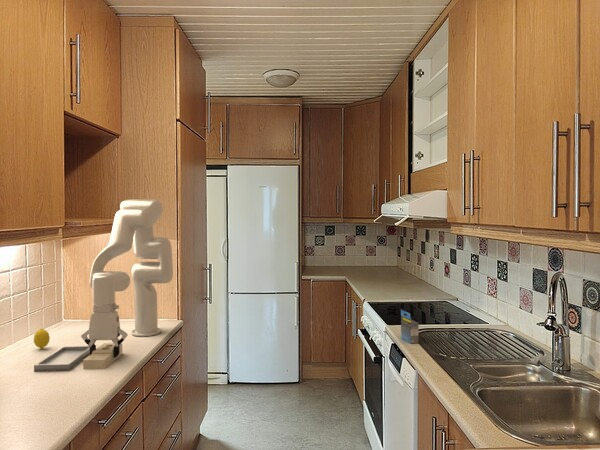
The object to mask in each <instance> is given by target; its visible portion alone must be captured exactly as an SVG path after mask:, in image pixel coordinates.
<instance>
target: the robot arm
mask: <svg viewBox="0 0 600 450" xmlns="http://www.w3.org/2000/svg"><path fill="white" fill-rule="evenodd" d="M119 208H120V209H119V210H118V211H116V213H115V216H114V217H113V218H114V219H113V223H112V227H111V228H112V229H111V234H110V238H109V242H108V245H107V246H105V247H104V248H103V249H102V250H101V251H100V252H99V254H98V255H97V256H96V257H95V258H94V260H93V261H92V262H93V263H92V264H91V270H90V275H89V286H90V288H91V290H92V312H91V313H90V318H89V323H88V324H89V326H88V329H87V330H86V331H84V333H82V334H81V335H80V337H81V339H82V340H83V341H84V343H85V344H87V346H89V347H90V355H91V354H92V352H93V351H94V350H95V349H97V344H96V342H97V341H112V343H114V345H115V346H114V358H116V357H117V356H118V355H119V353H120V346H119V345H120V344H121V343H122V344H123V342H124V341H125V340H126V339H127V337H128V333H127V332H126V331H124V330H123V329H121V323H120V316H119V311H118V310H117V309H119V308H120V305H119V304H116V293H117V292H118V293H119V292H124V291H126V290H127V289H128V288H129V286H130V284H131V278H132V281H133V290H134V292H133V293H134V329H132V331H131V335H132V336H135V337H151V336H156V335H160V334H161V333H162V328H160V327H158V322H159V321H158V291H157V289H156V288H155V286H154V285H153V284H168V283H170V282H171V281H172V280H173V277H174V265H173V249H172V243H171V240H170V239H168V238H167V237H163V236H161V237H160V236H158V237H156V236H155V235H154V225H155V224H156V223H157V222H158V221H159V220H160V218H161V216H162V215H163V204H162V202H161V201H160V200H158V199H153V198H151V199H150V198H149V199H148V198H147V199H146V198H145V199H144V198H141V199H140V198H135V199H134V198H133V199H125V200H123V201H121V203H120V205H119ZM132 248H133V252H134V256H135V257H136V258H137V259H140V260H141V259H142V260H158V261H138V262H136V263H134V264H133V266H132V268H131V277H130V275H129V274H128V272H127V273H126V272H125V271H121V270H120V271H119V270H118V271H115V270H114V271H113V270H110V271H109V270H107V271H106V270H105V271H104V269H105V267H106V265H107V264H108V263H109V262H110V261H112V260H113V259H114V258H117V257H119V256H121V255H123V254H126V253H128V252H130V251H131V250H132ZM120 336H121V338H119V337H120ZM90 355H89V356H90Z"/></svg>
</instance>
